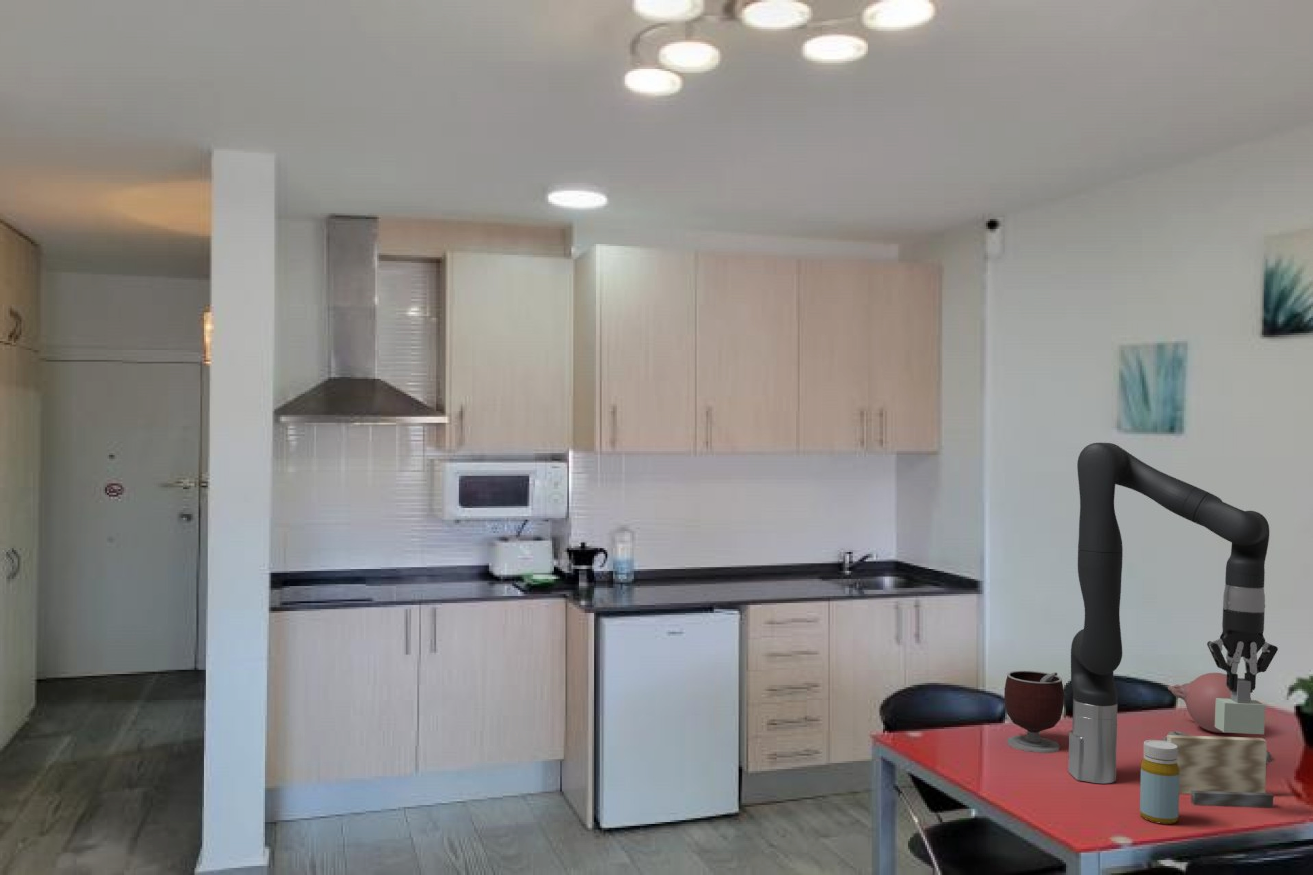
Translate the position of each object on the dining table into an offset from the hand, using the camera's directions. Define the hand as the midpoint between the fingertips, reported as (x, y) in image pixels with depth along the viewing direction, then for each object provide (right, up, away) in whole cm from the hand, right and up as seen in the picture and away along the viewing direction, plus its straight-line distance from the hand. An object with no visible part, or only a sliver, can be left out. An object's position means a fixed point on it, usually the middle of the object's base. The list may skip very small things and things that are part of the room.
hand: (1240, 690), depth 218 cm
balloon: (+25, -25, +60) cm, 70 cm away
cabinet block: (0, -8, 0) cm, 8 cm away
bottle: (-19, -25, -6) cm, 32 cm away
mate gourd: (-27, -24, +43) cm, 56 cm away
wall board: (0, -25, +8) cm, 26 cm away
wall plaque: (+13, -25, +37) cm, 47 cm away
